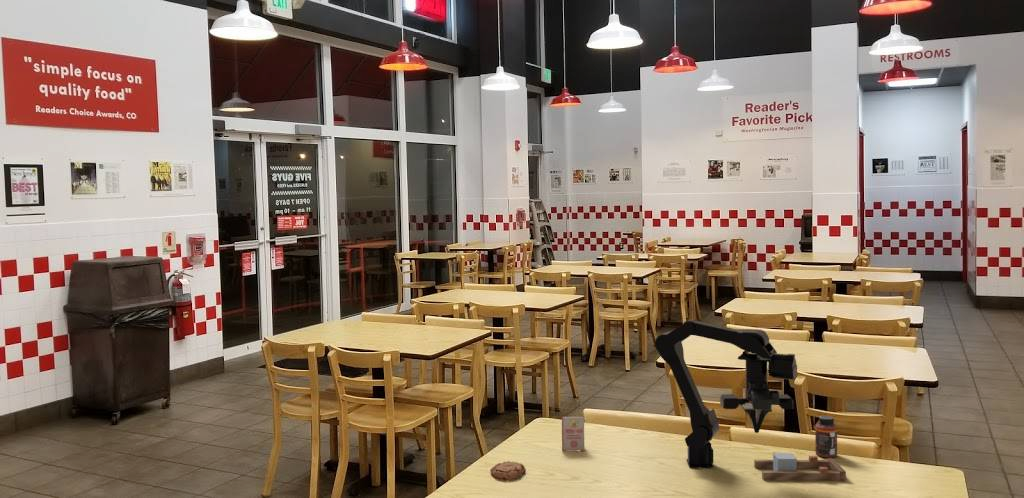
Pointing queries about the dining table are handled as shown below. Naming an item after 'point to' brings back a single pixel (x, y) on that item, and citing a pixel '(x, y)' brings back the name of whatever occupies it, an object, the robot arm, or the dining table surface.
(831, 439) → the supplement bottle
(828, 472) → the channel
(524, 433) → the dining table surface
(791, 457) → the rider
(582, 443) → the product box
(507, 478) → the cookie
